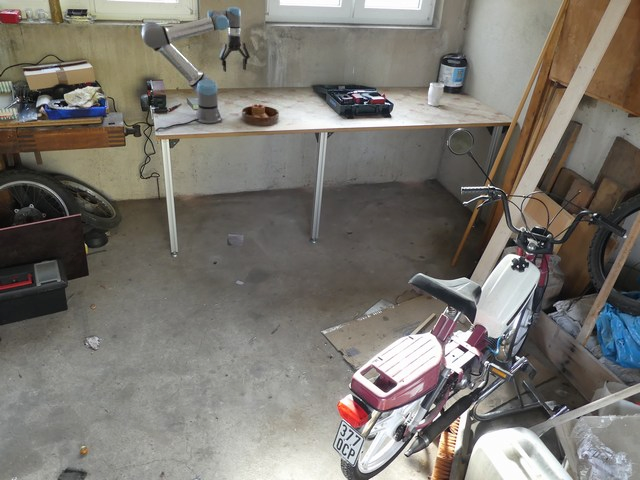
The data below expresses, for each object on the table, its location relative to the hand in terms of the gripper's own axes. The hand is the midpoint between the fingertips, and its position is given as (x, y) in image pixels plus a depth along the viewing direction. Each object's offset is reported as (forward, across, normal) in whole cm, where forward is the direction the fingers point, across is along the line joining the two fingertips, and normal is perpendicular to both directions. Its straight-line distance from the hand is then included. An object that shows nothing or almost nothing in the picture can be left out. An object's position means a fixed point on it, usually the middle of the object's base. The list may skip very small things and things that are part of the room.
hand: (234, 70), depth 332 cm
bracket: (+26, +8, -20) cm, 34 cm away
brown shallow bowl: (+27, +8, -20) cm, 34 cm away
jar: (+27, +145, -37) cm, 152 cm away
